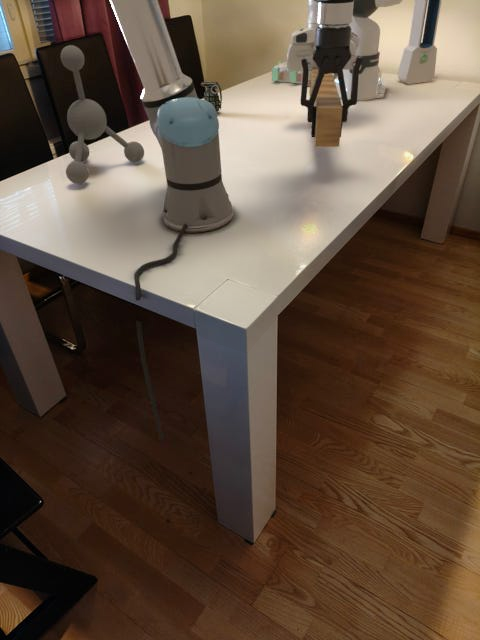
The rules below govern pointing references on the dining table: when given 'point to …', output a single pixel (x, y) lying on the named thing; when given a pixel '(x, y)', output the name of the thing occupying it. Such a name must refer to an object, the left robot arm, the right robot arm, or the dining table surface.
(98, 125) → the molecular model
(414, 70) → the electronic device
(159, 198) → the dining table surface
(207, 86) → the grenade
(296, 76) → the white green flat box
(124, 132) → the dining table surface
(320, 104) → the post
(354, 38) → the right robot arm
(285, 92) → the dining table surface
